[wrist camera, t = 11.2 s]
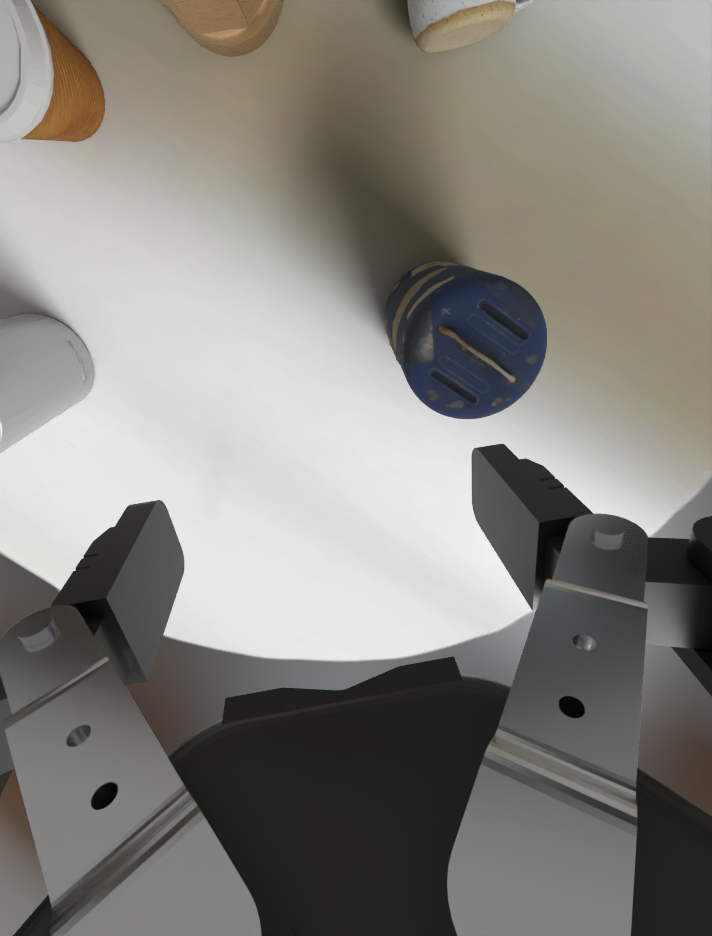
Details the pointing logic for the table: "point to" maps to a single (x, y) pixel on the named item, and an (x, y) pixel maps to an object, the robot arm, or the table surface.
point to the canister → (465, 338)
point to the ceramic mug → (458, 21)
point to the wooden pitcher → (227, 23)
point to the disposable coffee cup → (44, 80)
